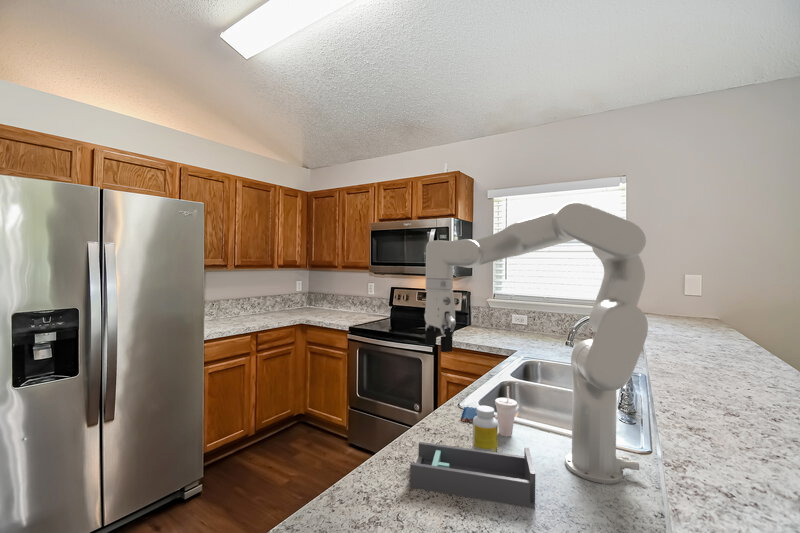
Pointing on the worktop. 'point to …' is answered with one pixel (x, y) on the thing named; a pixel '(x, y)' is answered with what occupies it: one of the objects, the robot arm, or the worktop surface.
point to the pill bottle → (485, 429)
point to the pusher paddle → (439, 460)
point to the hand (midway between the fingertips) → (438, 347)
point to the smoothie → (505, 414)
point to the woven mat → (469, 414)
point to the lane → (476, 474)
